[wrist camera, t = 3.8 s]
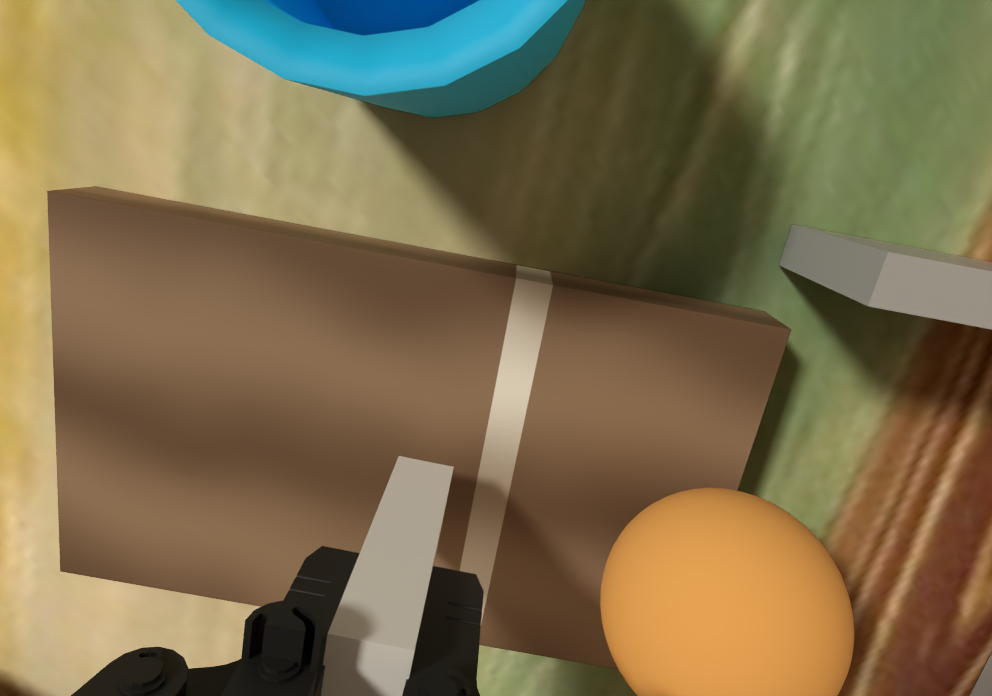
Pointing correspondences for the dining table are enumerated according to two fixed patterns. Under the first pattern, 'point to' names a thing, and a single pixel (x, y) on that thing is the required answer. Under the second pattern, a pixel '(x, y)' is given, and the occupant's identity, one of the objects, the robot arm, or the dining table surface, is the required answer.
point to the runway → (374, 407)
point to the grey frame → (897, 290)
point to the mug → (397, 46)
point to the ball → (725, 601)
